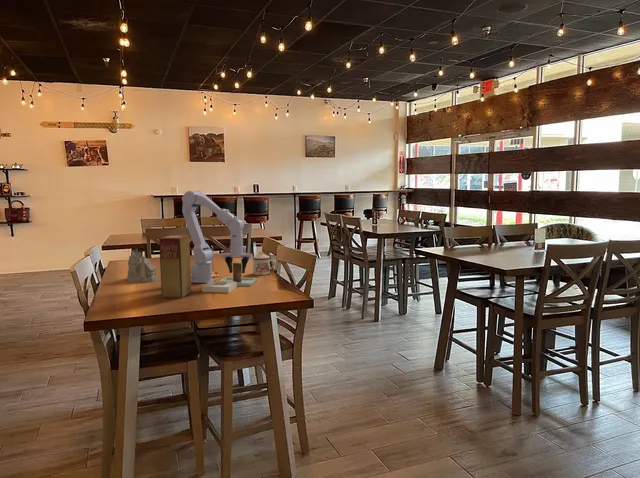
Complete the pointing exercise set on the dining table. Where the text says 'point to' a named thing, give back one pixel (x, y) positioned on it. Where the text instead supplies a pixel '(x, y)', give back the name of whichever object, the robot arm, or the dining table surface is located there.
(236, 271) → the walnut pin
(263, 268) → the teacup with lid
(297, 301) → the dining table surface
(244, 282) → the sage tray
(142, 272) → the grey castle model
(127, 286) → the dining table surface
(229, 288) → the holder block
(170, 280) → the food packaging
